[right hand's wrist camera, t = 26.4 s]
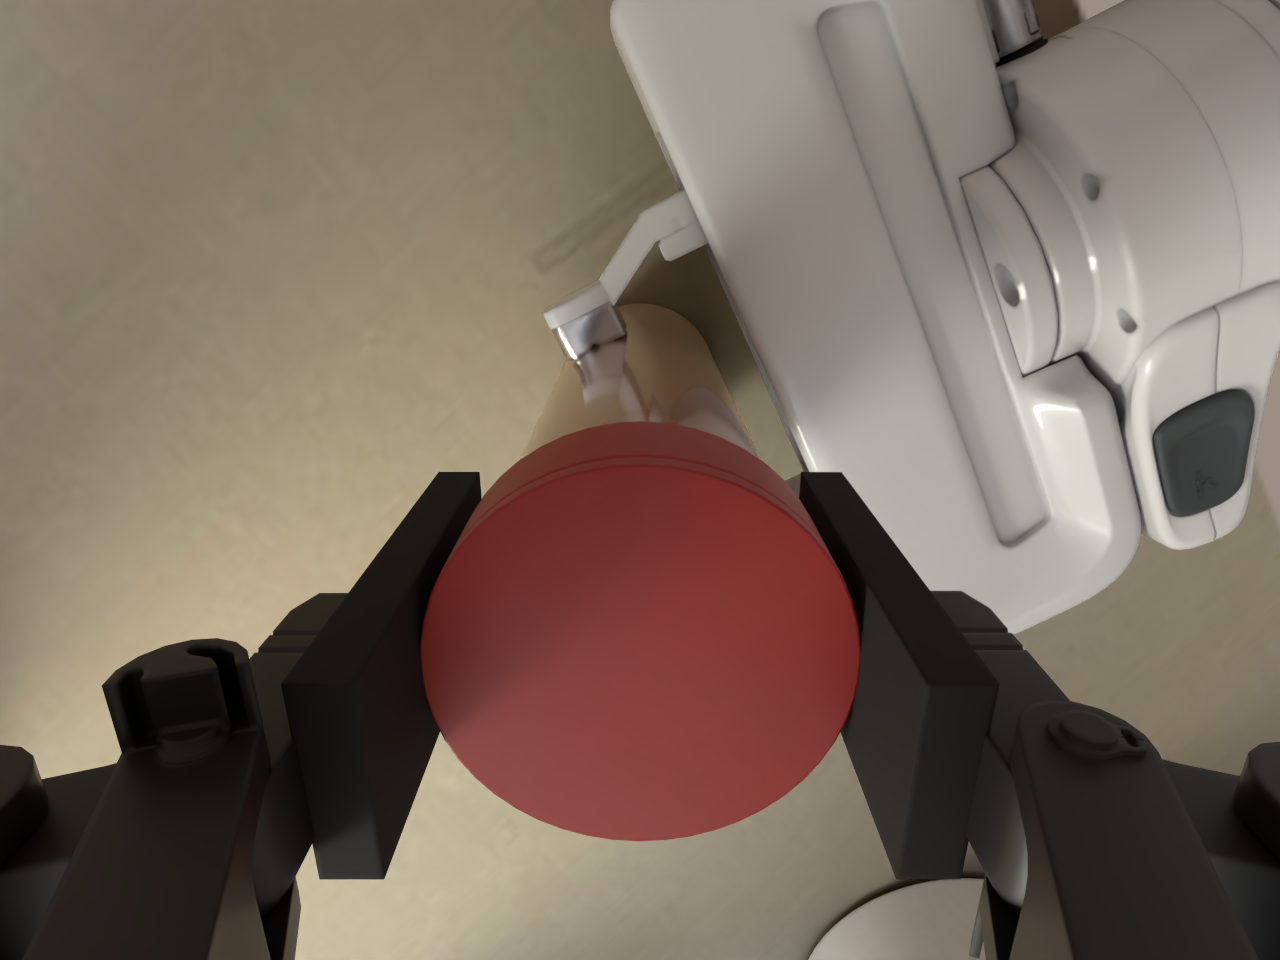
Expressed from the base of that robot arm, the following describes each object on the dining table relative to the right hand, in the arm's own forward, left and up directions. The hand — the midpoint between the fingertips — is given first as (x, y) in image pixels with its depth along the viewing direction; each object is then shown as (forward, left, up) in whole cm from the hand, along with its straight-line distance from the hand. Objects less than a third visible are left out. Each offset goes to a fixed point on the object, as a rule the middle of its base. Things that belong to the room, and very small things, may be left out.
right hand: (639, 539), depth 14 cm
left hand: (0, +1, -8) cm, 8 cm away
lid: (0, 0, +4) cm, 4 cm away
